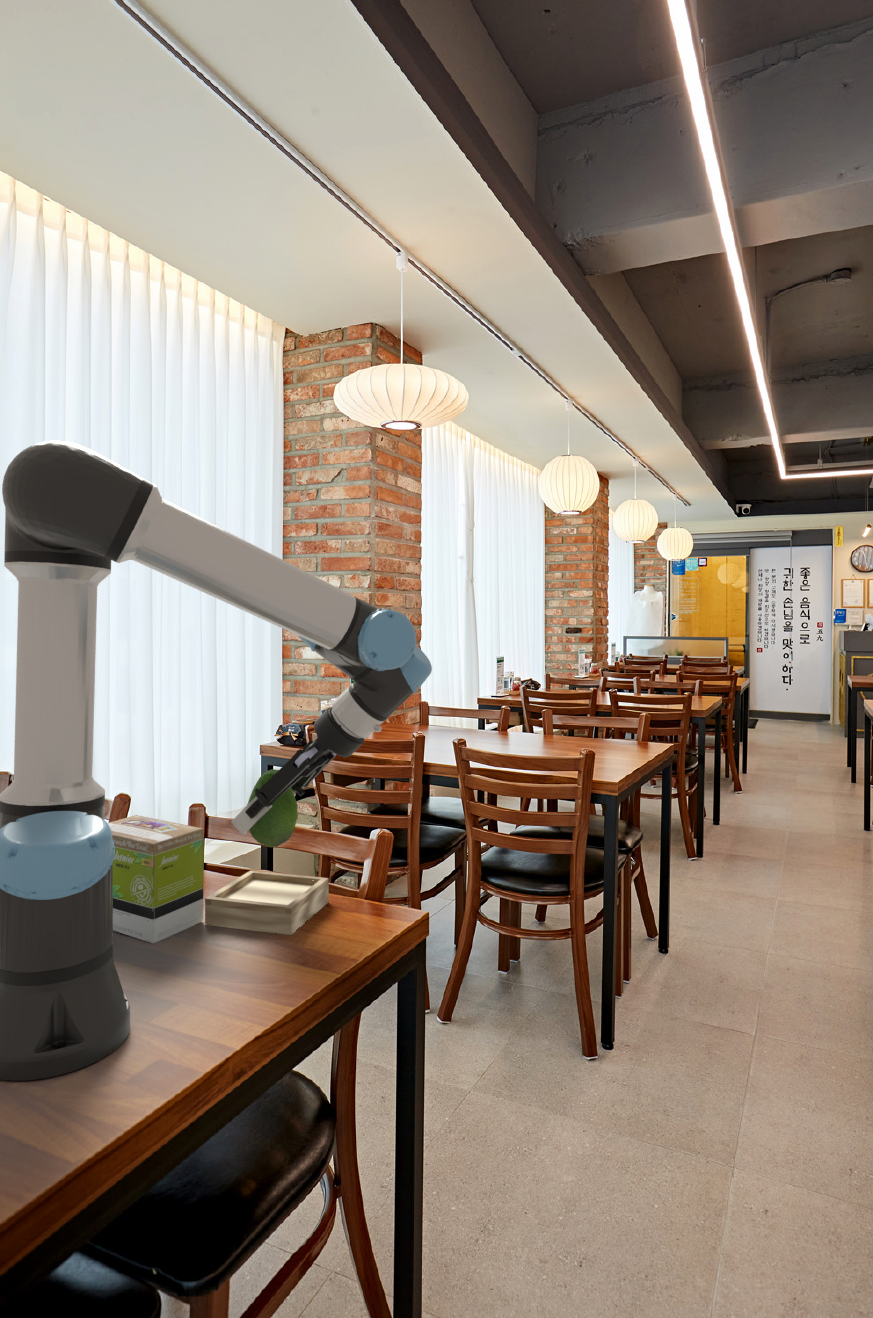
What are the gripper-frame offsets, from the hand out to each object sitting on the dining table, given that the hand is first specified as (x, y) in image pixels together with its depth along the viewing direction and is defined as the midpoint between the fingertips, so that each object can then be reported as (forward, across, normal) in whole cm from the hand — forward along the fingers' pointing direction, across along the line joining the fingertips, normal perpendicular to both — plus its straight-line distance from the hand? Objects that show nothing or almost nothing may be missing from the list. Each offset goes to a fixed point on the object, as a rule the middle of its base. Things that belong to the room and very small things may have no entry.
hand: (251, 821), depth 119 cm
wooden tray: (+8, 0, -12) cm, 15 cm away
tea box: (+19, -9, -1) cm, 21 cm away
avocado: (0, 0, -5) cm, 5 cm away
